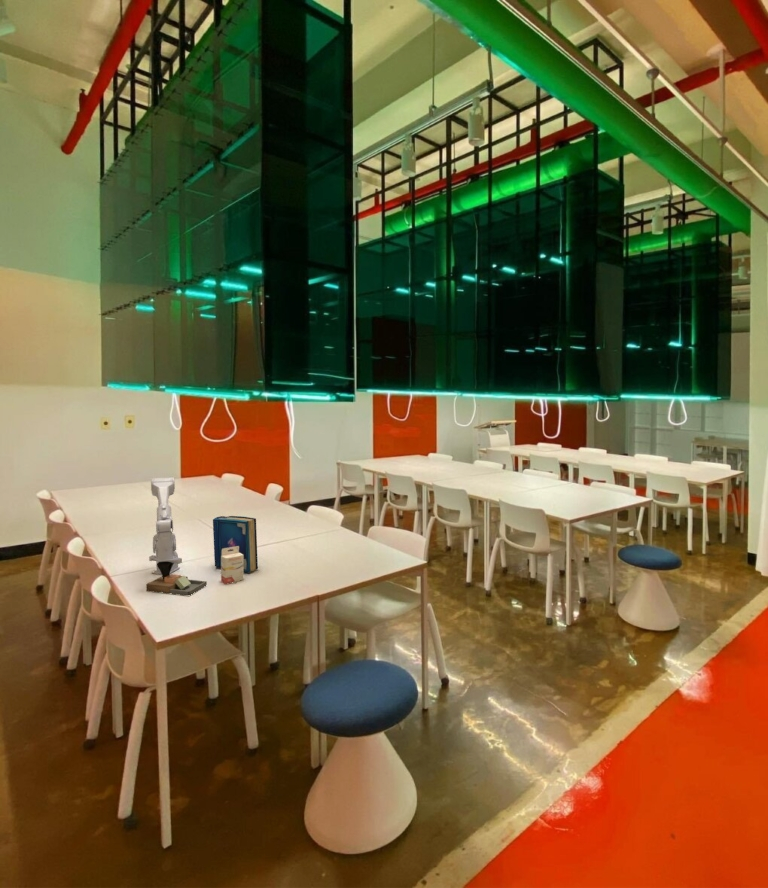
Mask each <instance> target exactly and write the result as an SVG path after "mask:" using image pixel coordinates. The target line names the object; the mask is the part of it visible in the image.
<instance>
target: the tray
mask: <svg viewBox="0 0 768 888" xmlns="http://www.w3.org/2000/svg"><path fill="white" fill-rule="evenodd" d="M188 580H189V582H190V583H191V584H190V585H189V586H188V587H186V588H184V589H183V590H181V589H180V588H178V589H176V590H175V589H170V593H172V594H171V595H176V594H180V595H179V596H184V595H190V596H192V595H194V594H195V593H197V592H198V590H199V589H200V590H201V588H202V589H203V588H205V587H207V586H206V585H207V581H206V580H197V579H188ZM204 586H205V587H204ZM200 590H199V591H200ZM196 591H197V592H196ZM194 592H195V593H194ZM193 593H194V594H193ZM191 594H192V595H191Z"/></svg>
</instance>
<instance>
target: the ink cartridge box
mask: <svg viewBox="0 0 768 888" xmlns="http://www.w3.org/2000/svg"><path fill="white" fill-rule="evenodd" d="M230 549H231V550H232V549H233V551H229V552H228V550H230ZM243 562H244V556H243V554H241V553H239V546H236V547H230V548H224V549H222V556H221V568H220V574H221V575H220V576H221V577H220V580H221V582H222V583H223V584H225V585H228V584H227V583H229V584H232V582H233V583H237V582H241V581H240V580H242V581H244V574H245V572H244V563H243ZM236 581H237V582H236Z"/></svg>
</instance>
